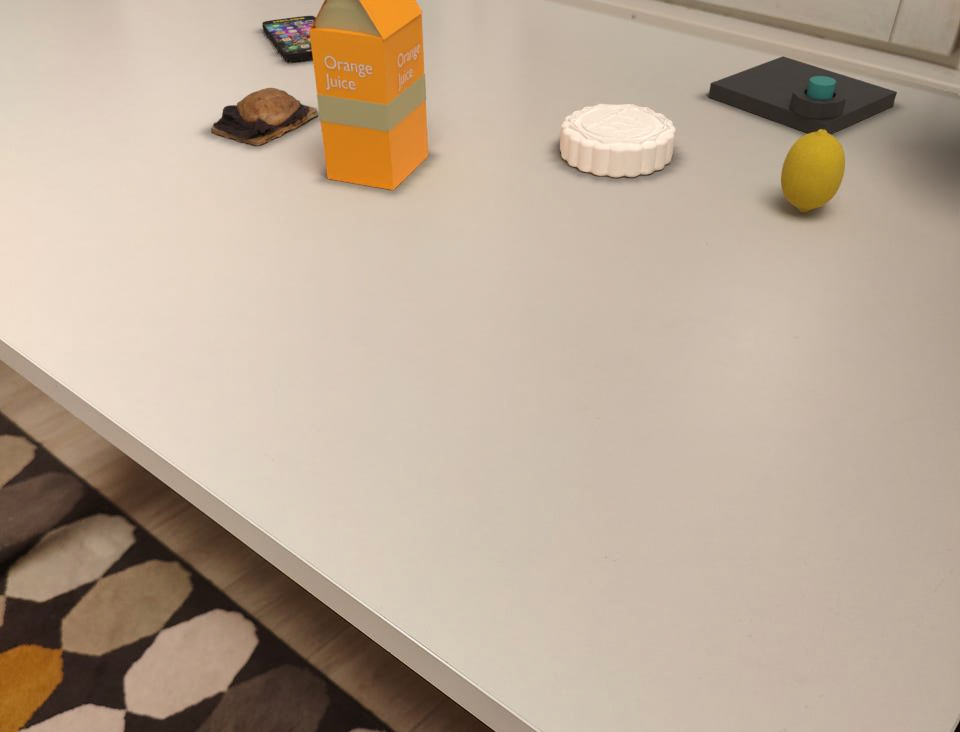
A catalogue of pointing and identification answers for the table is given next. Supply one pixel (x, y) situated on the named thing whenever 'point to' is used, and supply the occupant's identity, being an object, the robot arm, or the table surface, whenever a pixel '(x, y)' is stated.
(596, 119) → the mooncake
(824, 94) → the button
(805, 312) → the table surface
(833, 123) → the push button box
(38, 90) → the table surface
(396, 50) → the orange juice
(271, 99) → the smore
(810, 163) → the lemon
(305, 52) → the smartphone
